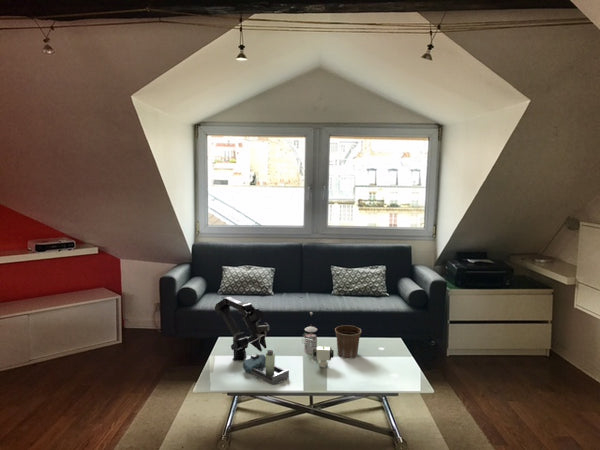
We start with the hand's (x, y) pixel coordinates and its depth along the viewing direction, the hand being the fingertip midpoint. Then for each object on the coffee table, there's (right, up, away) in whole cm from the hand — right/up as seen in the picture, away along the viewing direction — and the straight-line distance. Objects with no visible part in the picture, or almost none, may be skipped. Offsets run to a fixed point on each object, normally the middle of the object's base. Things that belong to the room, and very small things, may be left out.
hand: (263, 349), depth 252 cm
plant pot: (+50, -9, +21) cm, 55 cm away
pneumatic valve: (+34, -11, +5) cm, 36 cm away
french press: (+27, -8, +27) cm, 39 cm away
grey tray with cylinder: (+2, -12, -6) cm, 14 cm away
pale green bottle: (+4, -10, -9) cm, 14 cm away
